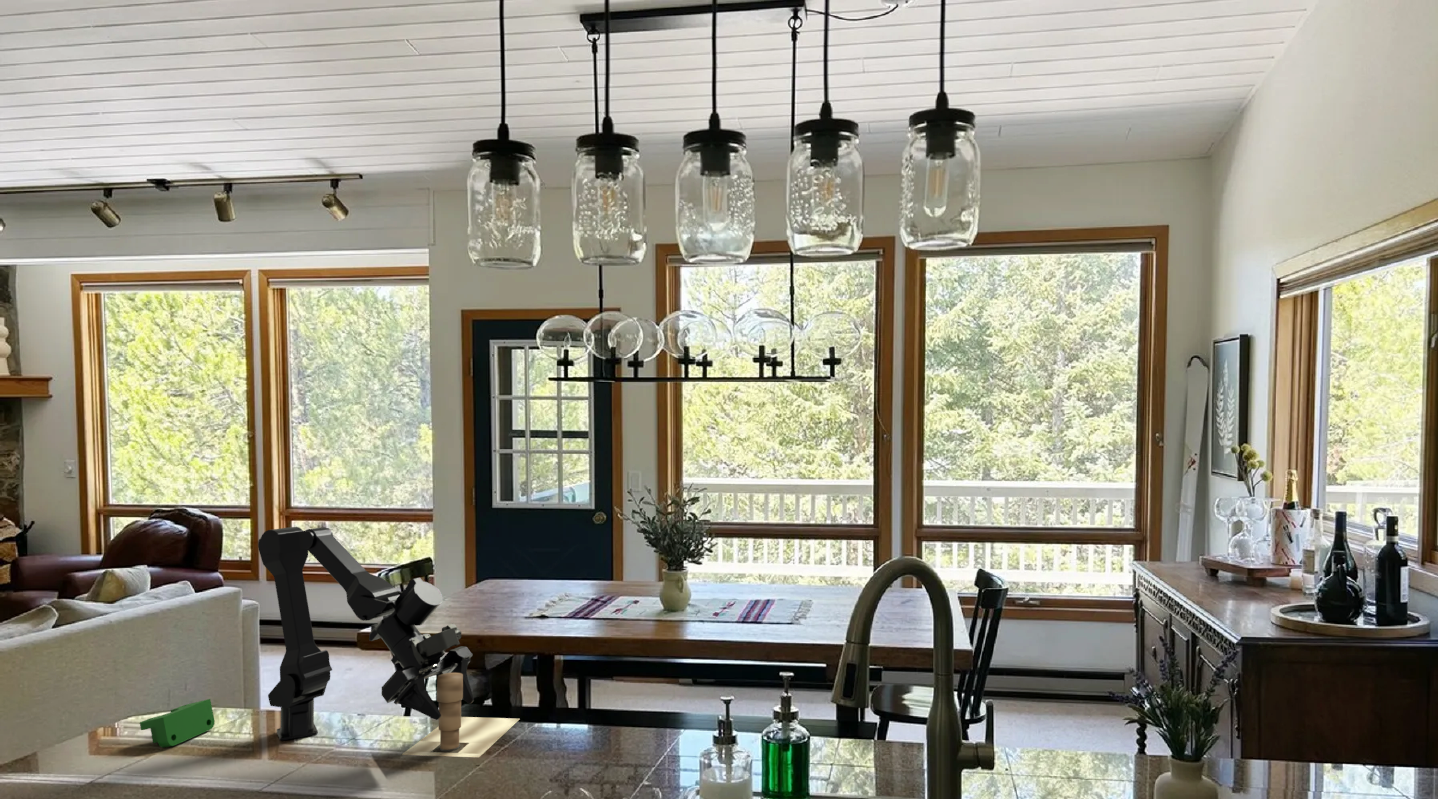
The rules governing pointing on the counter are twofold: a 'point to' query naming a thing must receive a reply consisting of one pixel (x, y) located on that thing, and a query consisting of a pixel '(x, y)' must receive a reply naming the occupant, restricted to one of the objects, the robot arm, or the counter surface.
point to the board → (466, 737)
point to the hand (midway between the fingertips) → (456, 709)
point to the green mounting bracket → (180, 723)
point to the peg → (449, 709)
